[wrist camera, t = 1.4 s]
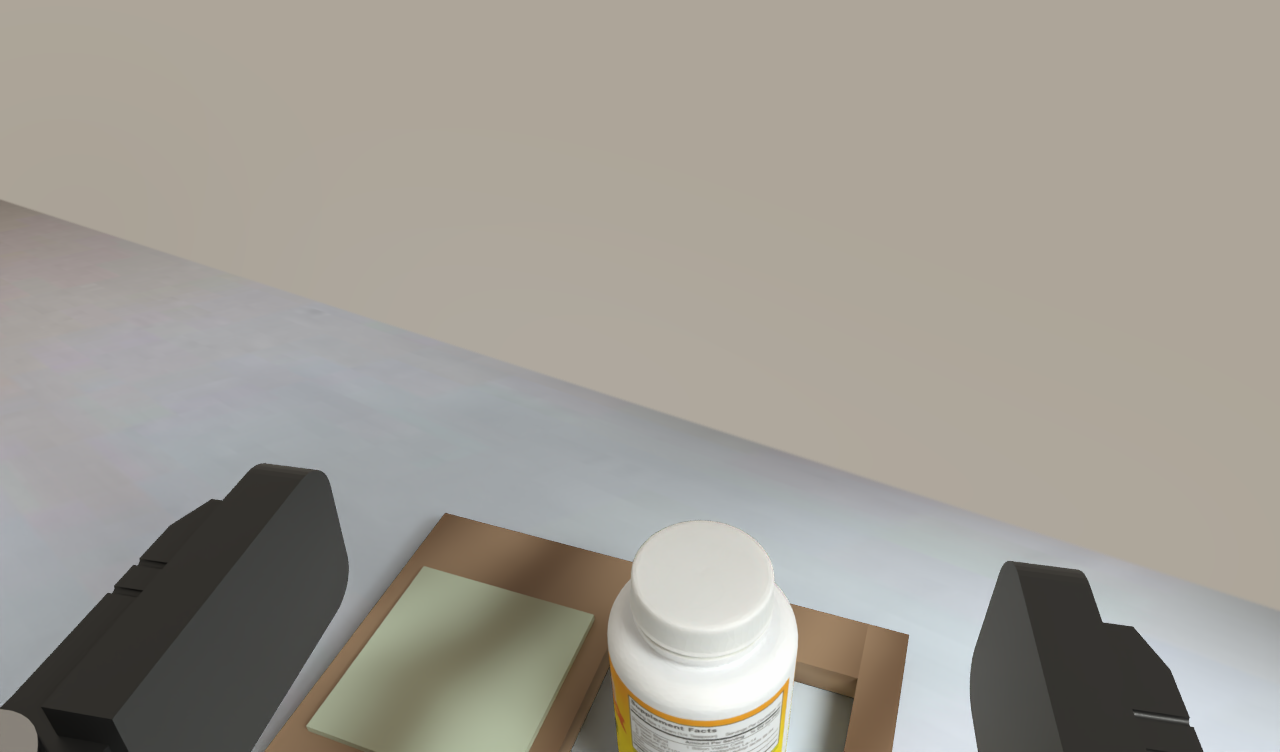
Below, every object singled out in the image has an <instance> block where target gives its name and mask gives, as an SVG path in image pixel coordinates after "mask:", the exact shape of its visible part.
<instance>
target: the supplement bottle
mask: <svg viewBox="0 0 1280 752" xmlns="http://www.w3.org/2000/svg"><path fill="white" fill-rule="evenodd" d="M607 637H608V652H609V662H610V672H611V681H612V690H613V701H614V711H615V720H616V730H617V741H618V750H619V752H786V745H787V736H788V729H789V720H790V710H791V701H792V692H793V684H794V675H795V667H796V659H797V650H798V630H797V624H796V619H795V615H794V612H793V610H792V607H791V605H790V603H789V601H788V599H787V597H786V596H785V594H784V593H783V592H782V590H781V589H780V588H779V587H778V585H777V584H776V583H775V582H774V571H773V567H772V563H771V561H770V558H769V556H768V555H767V553H766V552H765V550H764V549H763V548H762V546H761V545H760V544H759V543H758V542H757V541H756V540H755V539H754V538H752V537H751V536H750V535H748V534H747V533H745V532H743V531H742V530H740V529H738V528H735V527H733V526H730V525H727V524H724V523H720V522H714V521H702V520H697V521H687V522H681V523H678V524H674V525H671V526H669V527H666V528H664V529H662V530H660V531H658V532H657V533H655V534H654V535H652V536H651V537H650V538H649V539H648V540H647V541H646V542H645V543H644V544H643V545H642V546H641V547H640V549H639V550H638V552H637V554H636V556H635V558H634V561H633V564H632V569H631V579H630V580H629V581H628V582H627V583H626V584H625V586H624V587H623V588H622V590H621V591H620V593H619V594H618V596H617V598H616V600H615V601H614V604H613V606H612V609H611V612H610V616H609V621H608V631H607Z"/></svg>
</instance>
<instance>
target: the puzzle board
mask: <svg viewBox="0 0 1280 752" xmlns="http://www.w3.org/2000/svg"><path fill="white" fill-rule="evenodd" d="M632 564H633V562H630V561H626V560H622V559H619V558H615V557H611V556H607V555H603V554H600V553H596V552H592V551H588V550H584V549H581V548H577V547H573V546H569V545H565V544H562V543H558V542H554V541H550V540H546V539H543V538H539V537H535V536H531V535H527V534H524V533H520V532H516V531H512V530H508V529H505V528H501V527H497V526H493V525H489V524H486V523H482V522H478V521H474V520H470V519H467V518H463V517H459V516H455V515H451V514H448V513H445V514H444V515H443V516H442V518H441V519H440V520H439V522H438V523H437V524H436V526H435V527H434V528H433V530H432V531H431V532H430V534H429V535H428V536H427V537H426V539H425V540H424V541H423V543H422V544H421V545H420V547H419V548H418V549H417V551H416V552H415V553H414V555H413V556H412V557H411V559H410V560H409V561H408V563H407V564H406V565H405V567H404V568H403V569H402V570H401V572H400V573H399V574H398V576H397V577H396V578H395V580H394V581H393V582H392V584H391V585H390V586H389V588H388V589H387V590H386V592H385V593H384V594H383V596H382V597H381V598H380V599H379V601H378V602H377V603H376V605H375V606H374V607H373V609H372V610H371V611H370V613H369V614H368V615H367V617H366V618H365V619H364V621H363V622H362V623H361V625H360V626H359V627H358V628H357V630H356V631H355V632H354V634H353V635H352V636H351V638H350V639H349V640H348V642H347V643H346V644H345V646H344V647H343V648H342V650H341V651H340V652H339V654H338V655H337V656H336V658H335V659H334V660H333V661H332V663H331V664H330V665H329V667H328V668H327V669H326V671H325V672H324V673H323V675H322V676H321V677H320V679H319V680H318V681H317V683H316V684H315V685H314V687H313V688H312V689H311V690H310V692H309V693H308V694H307V696H306V697H305V698H304V700H303V701H302V702H301V704H300V705H299V706H298V708H297V709H296V710H295V712H294V713H293V714H292V716H291V717H290V718H289V719H288V721H287V722H286V723H285V725H284V726H283V727H282V729H281V730H280V731H279V733H278V734H277V735H276V737H275V738H274V739H273V741H272V742H271V743H270V745H269V746H268V747H267V749H266V750H265V751H264V752H570V751H571V749H572V747H573V745H574V742H575V740H576V738H577V736H578V734H579V732H580V729H581V727H582V725H583V723H584V721H585V719H586V716H587V714H588V712H589V710H590V708H591V706H592V703H593V701H594V699H595V697H596V695H597V693H598V690H599V688H600V686H601V684H602V682H603V679H604V677H605V675H606V673H607V671H608V669H609V666H610V662H609V652H608V637H607V631H608V621H609V616H610V612H611V609H612V606H613V604H614V601H615V600H616V598H617V596H618V594H619V593H620V591H621V590H622V588H623V587H624V586H625V584H626V583H627V582H628V581H629V580H630V579H631V569H632ZM790 605H791V607H792V610H793V612H794V615H795V619H796V624H797V630H798V650H797V659H796V667H795V675H794V681H797V682H800V683H804V684H807V685H811V686H814V687H818V688H821V689H825V690H828V691H831V692H835V693H838V694H842V695H845V696H849V697H852V698H854V701H853V706H852V711H851V717H850V722H849V727H848V732H847V737H846V742H845V747H844V752H892V747H893V740H894V734H895V727H896V720H897V713H898V707H899V700H900V693H901V686H902V680H903V673H904V666H905V659H906V652H907V646H908V639H909V635H908V634H904V633H900V632H896V631H892V630H889V629H885V628H881V627H877V626H873V625H870V624H866V623H862V622H858V621H854V620H851V619H847V618H843V617H839V616H835V615H832V614H828V613H824V612H820V611H816V610H813V609H809V608H805V607H801V606H797V605H793V604H790Z"/></svg>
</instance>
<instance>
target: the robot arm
mask: <svg viewBox="0 0 1280 752" xmlns="http://www.w3.org/2000/svg"><path fill="white" fill-rule="evenodd" d="M348 572H349V565H348V557H347V553H346V548H345V544H344V540H343V536H342V532H341V528H340V523H339V519H338V515H337V511H336V507H335V502H334V498H333V494H332V490H331V486H330V483H329V480H328V478H327V476H326V475H325V474H324V473H323V472H322V471H319V470H313V469H305V468H297V467H289V466H281V465H273V464H266V463H263V464H258V465H256V466H254V467H253V468H251V469H250V470H249V471H248V472H247V473H246V475H245V476H244V477H243V478H242V479H241V480H240V481H239V483H238V484H237V485H236V486H235V487H234V488H233V489H232V490H231V492H230V493H229V494H228V495H227V496H226V497H225V498H224V500H223V501H222V500H215V499H211V500H210V501H208V502H206V503H205V504H203V505H202V506H200V507H199V508H197V509H195V510H194V511H192V512H191V513H189V514H187V515H186V516H184V517H183V518H181V519H180V520H178V521H176V522H175V523H173V524H172V525H170V526H169V527H168V528H167V529H166V530H165V532H164V533H163V534H162V535H161V536H160V537H159V538H158V539H157V540H156V541H155V542H154V543H153V544H152V546H151V547H150V548H149V549H148V550H147V551H146V552H145V553H144V554H143V555H142V556H141V557H140V562H139V564H138V565H137V566H136V565H133V566H132V567H131V568H130V569H129V570H128V571H127V573H126V574H125V575H124V576H123V577H122V578H121V579H120V580H119V581H118V582H117V583H116V584H115V586H114V591H113V593H112V594H111V593H107V594H106V595H105V596H104V597H103V599H102V600H101V601H100V602H99V603H98V604H97V605H96V606H95V607H94V608H93V609H92V610H91V611H90V613H89V614H88V615H87V616H86V617H85V618H84V619H83V620H82V621H81V622H80V623H79V624H78V626H77V627H76V628H75V629H74V630H73V631H72V632H71V633H70V634H69V635H68V636H67V637H66V638H65V640H64V641H63V642H62V643H61V644H60V645H59V646H58V647H57V648H56V649H55V650H54V651H53V653H52V654H51V655H50V656H49V657H48V658H47V659H46V660H45V661H44V662H43V663H42V664H41V665H40V667H39V668H38V669H37V670H36V671H35V672H34V673H33V674H32V675H31V676H30V677H29V678H28V680H27V681H26V682H25V683H24V684H23V685H22V686H21V687H20V688H19V689H18V690H17V691H16V693H15V694H14V695H13V696H12V697H11V698H10V699H9V700H8V701H7V702H6V703H5V704H4V705H3V706H2V707H1V708H0V752H251V750H252V749H253V747H254V746H255V744H256V742H257V741H258V739H259V737H260V736H261V734H262V733H263V731H264V729H265V728H266V726H267V724H268V723H269V721H270V720H271V718H272V716H273V715H274V713H275V711H276V710H277V708H278V707H279V705H280V703H281V702H282V700H283V698H284V697H285V695H286V694H287V692H288V690H289V689H290V687H291V685H292V684H293V682H294V681H295V679H296V677H297V676H298V674H299V672H300V671H301V669H302V668H303V666H304V664H305V663H306V661H307V659H308V658H309V656H310V655H311V653H312V651H313V650H314V648H315V646H316V645H317V643H318V642H319V640H320V638H321V637H322V635H323V633H324V632H325V630H326V629H327V627H328V625H329V624H330V622H331V620H332V619H333V617H334V616H335V614H336V612H337V610H338V609H339V607H340V605H341V602H342V600H343V597H344V594H345V590H346V587H347V581H348ZM970 703H971V711H972V718H973V724H974V730H975V736H976V742H977V748H978V752H1203V749H1202V747H1201V744H1200V742H1199V739H1198V737H1197V735H1196V732H1195V730H1194V727H1190V725H1189V718H1190V717H1189V715H1188V712H1187V710H1186V707H1185V705H1184V702H1183V700H1182V697H1181V695H1180V692H1179V690H1178V688H1177V685H1176V683H1175V680H1174V678H1173V675H1172V673H1171V670H1170V669H1169V668H1168V667H1167V665H1166V664H1165V663H1164V662H1163V661H1162V660H1161V658H1160V657H1159V656H1158V655H1157V654H1156V653H1155V652H1154V650H1153V649H1152V648H1151V647H1150V646H1149V645H1148V644H1147V642H1146V641H1145V640H1144V639H1143V638H1142V637H1141V635H1140V634H1139V633H1138V632H1137V631H1136V630H1135V629H1134V627H1132V626H1125V625H1117V624H1110V623H1103V622H1102V620H1101V617H1100V614H1099V611H1098V608H1097V605H1096V602H1095V599H1094V596H1093V593H1092V590H1091V588H1090V585H1089V582H1088V580H1087V578H1086V576H1085V574H1084V573H1083V572H1082V571H1080V570H1076V569H1068V568H1060V567H1052V566H1045V565H1037V564H1029V563H1021V562H1013V561H1007V562H1006V563H1005V564H1004V565H1003V566H1002V568H1001V570H1000V573H999V576H998V579H997V582H996V585H995V588H994V591H993V594H992V597H991V600H990V603H989V607H988V610H987V613H986V616H985V619H984V622H983V625H982V628H981V631H980V634H979V637H978V640H977V643H976V646H975V650H974V653H973V658H972V664H971V673H970Z"/></svg>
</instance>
